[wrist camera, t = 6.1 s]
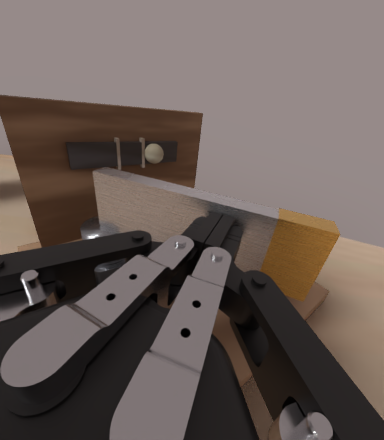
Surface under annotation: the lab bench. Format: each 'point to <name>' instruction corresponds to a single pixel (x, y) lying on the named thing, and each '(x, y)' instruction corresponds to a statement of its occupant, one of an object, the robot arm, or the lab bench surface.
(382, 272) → the lab bench surface
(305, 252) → the cam foot
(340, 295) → the lab bench surface
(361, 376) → the lab bench surface
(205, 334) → the robot arm
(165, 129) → the levelling base
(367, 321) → the lab bench surface
